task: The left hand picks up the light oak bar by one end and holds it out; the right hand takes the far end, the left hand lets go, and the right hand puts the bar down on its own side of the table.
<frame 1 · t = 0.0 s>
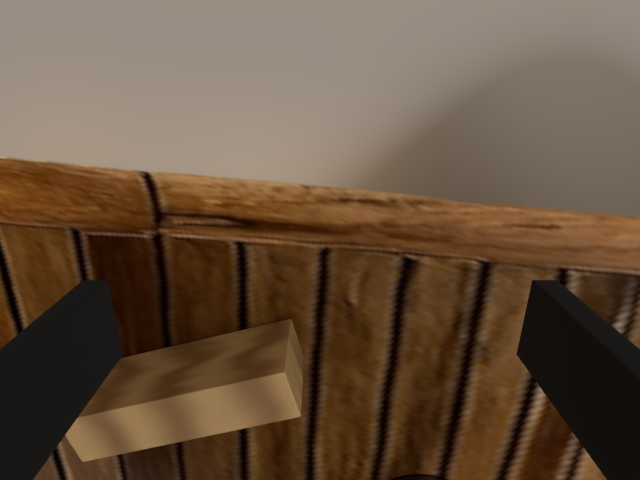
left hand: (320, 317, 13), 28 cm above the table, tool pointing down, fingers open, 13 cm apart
bar: (203, 359, 47), on the table
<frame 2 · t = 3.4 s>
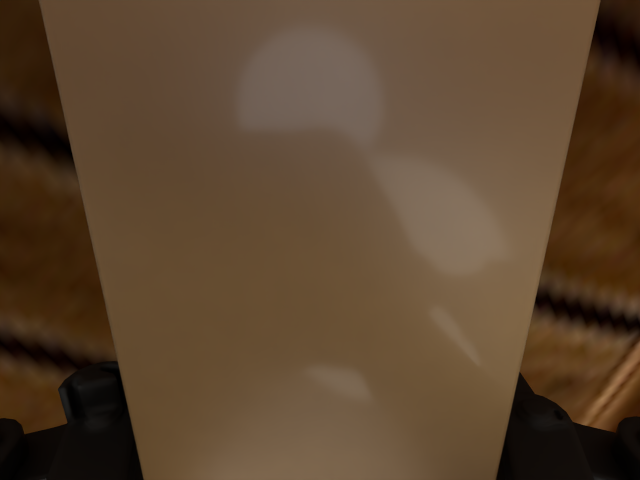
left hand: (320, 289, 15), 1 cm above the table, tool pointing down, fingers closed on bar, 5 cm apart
bar: (319, 82, 13), on the table, touching left hand
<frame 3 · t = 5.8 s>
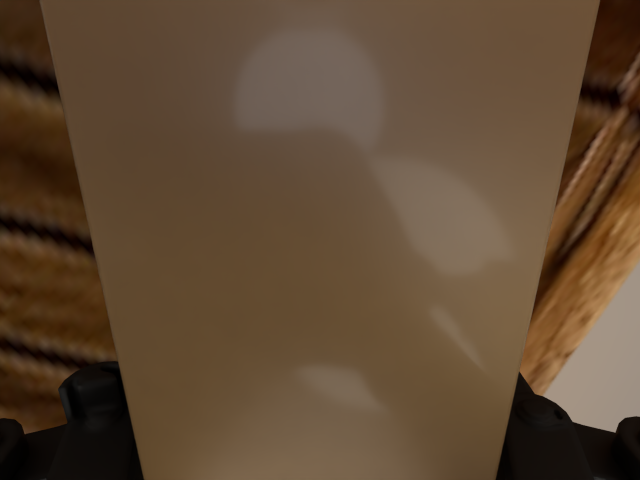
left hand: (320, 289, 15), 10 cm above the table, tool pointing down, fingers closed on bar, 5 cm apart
bar: (319, 82, 13), point 9 cm above the table, touching left hand
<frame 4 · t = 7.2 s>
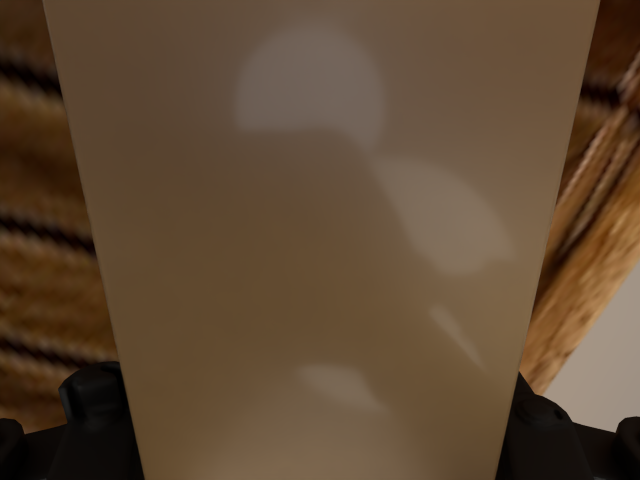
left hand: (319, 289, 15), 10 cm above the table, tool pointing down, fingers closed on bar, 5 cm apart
bar: (320, 82, 13), point 9 cm above the table, touching left hand, right hand
when the left hand's fingers open (10 cm above the table, at t = 8.2 s): bar stays where it is, held by the right hand.
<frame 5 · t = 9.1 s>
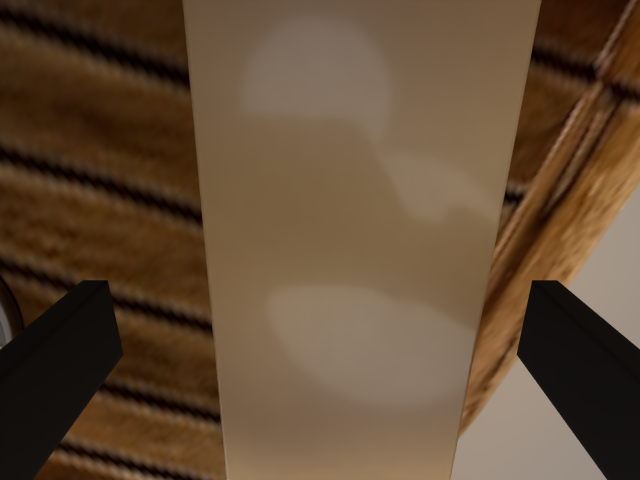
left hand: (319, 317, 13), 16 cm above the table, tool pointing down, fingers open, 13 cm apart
bar: (343, 26, 14), point 11 cm above the table, touching right hand
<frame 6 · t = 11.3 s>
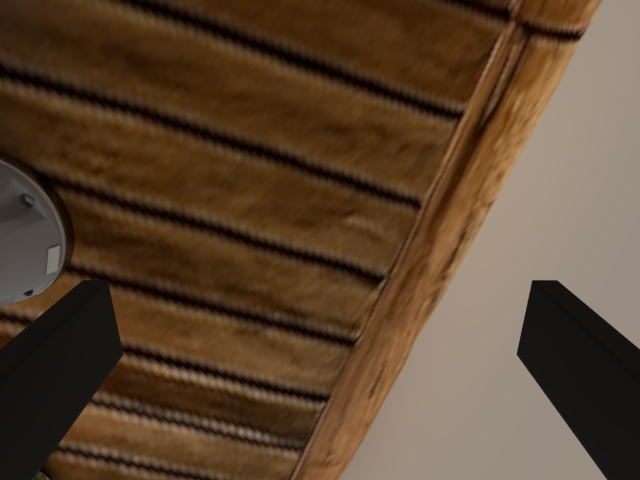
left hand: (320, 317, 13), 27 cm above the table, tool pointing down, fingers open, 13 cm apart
when the right hand's fingers open (4 cm above the table, at t = 12.8 s): bar drops 2 cm, on the table.
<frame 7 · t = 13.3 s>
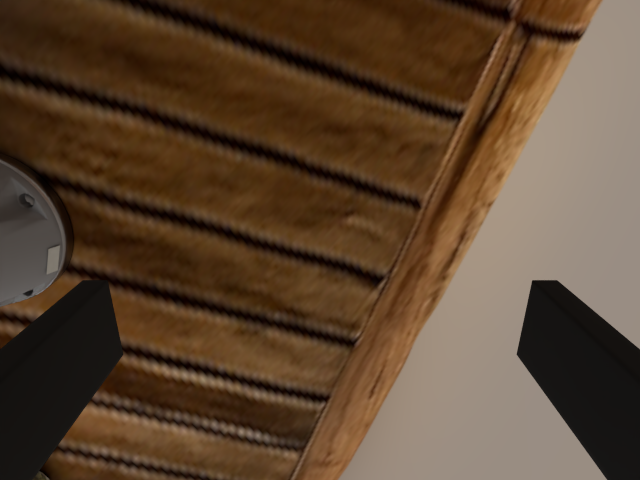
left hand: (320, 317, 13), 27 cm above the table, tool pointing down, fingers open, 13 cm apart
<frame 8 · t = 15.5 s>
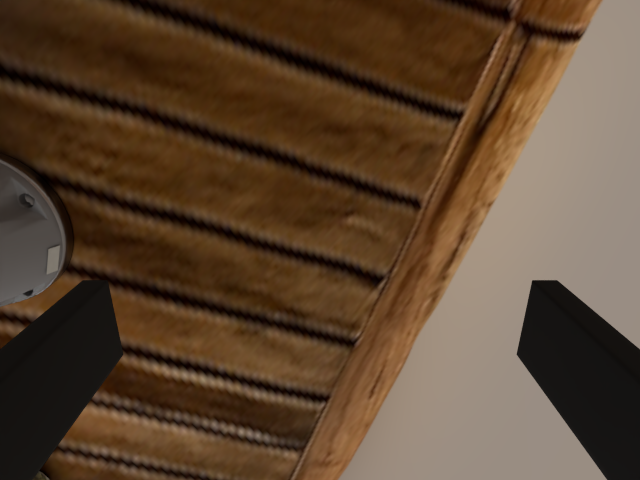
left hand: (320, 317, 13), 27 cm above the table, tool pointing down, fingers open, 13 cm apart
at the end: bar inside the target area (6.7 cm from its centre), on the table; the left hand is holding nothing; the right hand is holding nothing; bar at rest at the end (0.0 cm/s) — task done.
